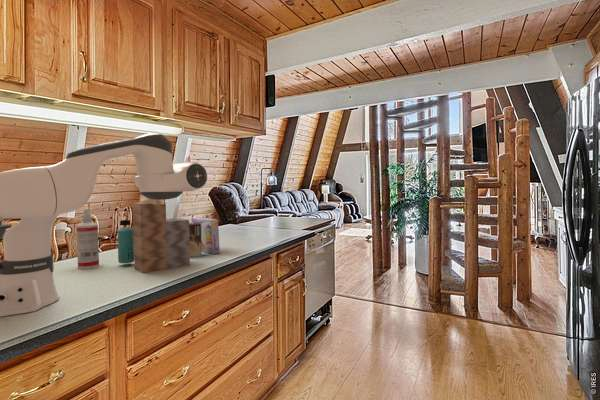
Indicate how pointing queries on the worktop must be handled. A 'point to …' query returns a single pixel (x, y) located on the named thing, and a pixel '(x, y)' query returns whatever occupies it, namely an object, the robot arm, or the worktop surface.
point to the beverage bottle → (125, 243)
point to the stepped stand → (159, 238)
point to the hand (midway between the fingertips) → (160, 178)
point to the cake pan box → (208, 234)
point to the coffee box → (195, 239)
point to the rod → (150, 200)
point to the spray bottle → (87, 242)
